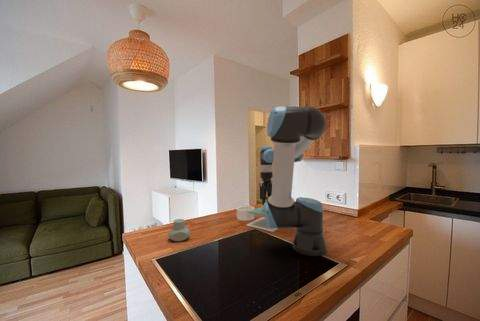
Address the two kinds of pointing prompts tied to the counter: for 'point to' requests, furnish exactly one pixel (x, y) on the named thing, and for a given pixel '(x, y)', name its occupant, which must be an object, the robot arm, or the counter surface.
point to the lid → (259, 210)
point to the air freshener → (179, 230)
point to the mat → (261, 224)
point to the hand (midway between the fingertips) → (267, 209)
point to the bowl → (245, 213)
